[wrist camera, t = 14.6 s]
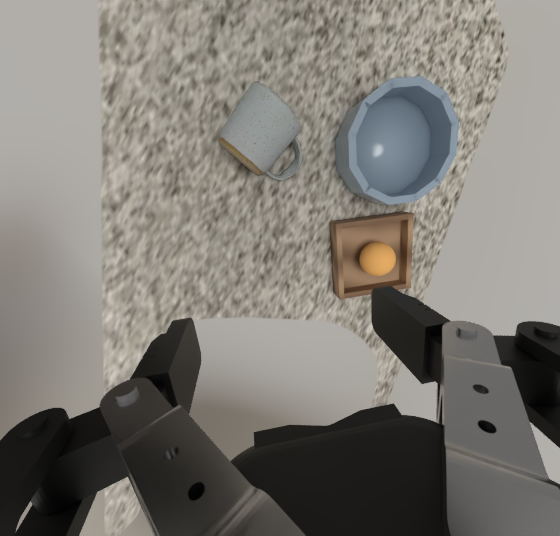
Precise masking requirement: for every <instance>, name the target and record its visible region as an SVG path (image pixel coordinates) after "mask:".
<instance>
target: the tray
mask: <svg viewBox="0 0 560 536" xmlns="http://www.w3.org/2000/svg"><path fill="white" fill-rule="evenodd" d="M413 216H414V213H408V212H395V213H388V214H380V215H373V216H366V217H358V218H351V219H344V220H336V221H330V238H331V256H332V274H333V292H334V293H335V294H336V296H337V297H338V298H339V299H344V298H350V297H356V296H362V295H368V294H372V290H373V289H374V288H379V287H385V286H392V287H393V288H395V289H396V290H399V289H405V288H411V265H412V240H413ZM373 242H383V243H386V244H387V245H389V246H390V247H391V248H392V249H393V250H394V252H395V255H396V262H395V265H394V267H393V269H392V270H391V271H390V272H389V273H387V274H385V275H382V276H373V275H370V274H368V273H366V272H365V271H364V270H363V269H362V267H361V265H360V260H359V258H360V254H361V251H362V250H363V248H364V247H365V246H367V245H368V244H370V243H373Z"/></svg>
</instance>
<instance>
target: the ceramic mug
mask: <svg viewBox="0 0 560 536" xmlns="http://www.w3.org/2000/svg"><path fill="white" fill-rule="evenodd" d="M300 130H301V125H300V122H299V120H298V118H297V117H296V115H295V114H294V113H293V111H292V110H291V109H290V108H289V106H288V105H287V104H286V103H285V102H284V101H283V100H282V99H281V98H280V97H279V96H278V95H277V94H275V93H274V92H273V91H272V90H271V89H270V88H269V87H267V86H266V85H264V84H262V83H260V82H253V83H252V84H251V86H250V87H249V89H248V91H247V92H246V94H245V95H244V97H243V98H242V100H241V101H240V103H239V104H238V106H237V107H236V109H235V111H234V112H233V114H232V115H231V117H230V118H229V120H228V121H227V123H226V124H225V126H224V128H223V130H222V132H221V134H220V137H219V142H220V144H221V145H222V146H223V147H224V148H225V149H226V150H227V151H229V152H230V153H231V154H232V155H233V156H234V157H236V158H237V159H238V160H239V161H240V162H242V163H243V164H244V165H245V166H246V167H247V168H249V169H250V170H251V171H252V172H254V173H255V174H256V175H262V174H263V173H266V174H267V175H269V176H270V177H272V178H274V179H277V180H284V179H288V178H289V177H291V176H292V175H293V174H294V173H295V172H296V171H297V170H298V169H299V167H300V165H301V162H302V150H301V146H300V144H299V141H298V140H297V138H296V136H297V135H298V133H299V132H300ZM292 141H293V144H294V146H295V149H296V158H295V160H294V162H293V163H292V165H291V166H290V167H289V168H288V169H287V170H285V171H283V173H282V174H281V175H274V174H272V173H270V172H269V171H268V169H269V168H270V167H271V166H272V165H273V163H274V162H275V161H276V160H277V158H278V157H279V156H280V154H281V153H282V152H283V151H284V150H285V149H286V148H287V146H288V145H289V144H290V143H291V142H292Z"/></svg>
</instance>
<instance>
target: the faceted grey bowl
mask: <svg viewBox="0 0 560 536" xmlns="http://www.w3.org/2000/svg"><path fill="white" fill-rule="evenodd" d="M458 127H459V120H458V118H457V116H456V113H455V111H454V108H453V106H452V104H451V101H450V99H449V96H448V94H447V92H446V91H444V90H442V89H441V88H439V87H438V86H436V85H435V84H433V83H432V82H430V81H429V80H427V79H426V78H424V77H423V76H415V77H403V78H392V79H389V80H388V81H387V82H385V83H384V84H382V85H381V86H380V87H378V88H377V89H375V90H374V91H373V92H371V93H370V94H369V95H367V96H366V97H365V98H364V99H362V100H361V101H360V102H359V103H357V104H356V105H355V106H353V107H352V108H351V109H350V110H348V112H347V114H346V116H345V119H344V121H343V123H342V125H341V128H340V130H339V132H338V135H337V137H336V139H335V145H336V167H337V171H338V173H339V174H340V176H341V177H342V179H343V181H344V182H345V184H346V186H347V187H348V189H349V191H350V192H351V193H353V194H355V195H358V196H360V197H362V198H364V199H366V200H368V201H370V202H372V203H378V204H386V205H392V204H400V203H407V202H415V201H417V200H419V199H420V198H421V197H423V196H424V195H425V194H427V193H428V192H429V191H431V190H432V189H434V188H435V187H436V186H438V185H439V184H440V183H441V181H442V180H443V178H444V176H445V174H446V172H447V171H448V169H449V167H450V165H451V163H452V161H453V160H454V158H455V156H456V151H457V139H458Z"/></svg>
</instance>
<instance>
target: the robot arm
mask: <svg viewBox="0 0 560 536" xmlns="http://www.w3.org/2000/svg"><path fill="white" fill-rule="evenodd" d="M371 296H372V325H373V328H374V330H375V332H376V334H377V335H378V336H379V337H380V338H381V339H382V340H383V341H384V342H385V344H386V345H387V346H388V347H389V348H390V349H391V350H392V351H393V352H394V354H395V355H396V356H397V357H398V358H399V359H400V360H401V361H402V362H403V364H404V365H405V366H406V367H407V368H408V369H409V370H410V371H411V372H412V374H413V375H414V376H415V377H416V378H417V379H418V380H419V381H420V382H421V384H424V383H429V382H434V381H436V382H437V383H438V385H437V408H436V422H434V421H431V420H428V419H424V418H420V417H416V416H408V415H401V413H400V412H399V411H398V409H397V408H396V406H395V405H394V404H389V405H384V406H379V407H374V408H370V409H365V410H360V411H358V412H356V413H354V414H352V415H350V416H348V417H346V418H344V419H342V420H340V421H338V422H336V423H334V424H331V425H328V426H310V425H309V426H308V425H306V426H305V425H287V426H283V427H277V428H272V429H268V430H263V431H258V432H254V446H252V447H250V448H249V449H247V450H245V451H243V452H242V453H240V454H239V455H237V456H236V457H235V458H234V459H232V460H231V461H230V460H229V459H228V458H227V457H226V456H225V455H224V454H223V452H222V451H221V450H220V449H219V448H218V447H217V446H216V445H215V444H214V442H213V441H212V440H211V439H210V438H209V437H208V436H207V434H206V433H205V432H204V431H203V430H202V429H201V428H200V426H199V425H198V424H197V423H196V422H195V421H194V420H193V419H192V417H191V416H190V415H189V412H190V408H191V404H192V400H193V395H194V391H195V387H196V382H197V378H198V374H199V369H200V365H201V352H200V347H199V343H198V339H197V334H196V330H195V326H194V322H193V320H192V318H186V319H180V320H174V321H172V323H171V325H170V327H169V328H168V330H167V332H166V333H165V334H160V335H159V336H158V337H157V338H156V339H155V340H153V341H152V342H151V344H150V346H149V347H148V349H147V352H145V354H144V356H143V359H141V361H140V363H139V365H138V366H137V368H136V370H135V372H134V373H133V375H132V377H131V378H130V380H127V381H124V382H122V383H120V384H119V385H117V386H115V387H114V388H112V389H111V390H110V391H109V392H107V393H106V394H105V396H104V397H103V398H102V400H101V402H100V407H99V408H96V409H94V410H92V411H89V412H87V413H84V414H81V415H79V416H76V417H74V418H71V419H69V417H68V415H67V413H66V411H65V410H64V409H62V408H52V409H48V410H44V411H41V412H39V413H37V414H34V415H32V416H30V417H28V418H27V419H25V420H24V421H22V422H20V423H19V424H17V425H16V426H15V427H14V428H12V429H11V430H10V431H9V432H8V433H7V434H6V435H5V436H4V437H3V438H2V439H1V440H0V536H79V534H80V532H81V530H82V527H83V525H84V522H85V520H86V517H87V515H88V513H89V510H90V508H91V505H92V503H93V501H94V499H95V496H96V494H97V492H98V491H100V490H102V489H104V488H106V487H108V486H110V485H112V484H114V483H116V482H118V481H120V480H122V479H124V478H126V477H128V478H129V481H130V483H131V485H132V487H133V490H134V492H135V494H136V496H137V499H138V501H139V503H140V505H141V508H142V510H143V512H144V514H145V516H146V519H147V521H148V523H149V525H150V528H151V530H152V532H153V535H154V536H560V484H558V483H555V482H554V481H552V480H550V479H549V477H548V475H547V473H546V470H545V467H544V464H543V461H542V458H541V455H540V452H539V449H538V446H537V443H536V440H535V437H534V434H533V431H532V428H531V425H530V422H531V423H532V424H533V425H534V426H535V427H537V428H538V429H539V430H540V431H541V432H542V433H543V434H544V435H546V436H547V437H548V438H549V439H550V440H551V441H552V442H554V443H555V444H556V445H557V446H558V447H559V448H560V326H556V325H553V324H549V323H544V322H535V321H534V322H532V321H531V322H530V321H528V322H522V323H520V324H518V325H517V330H516V335H515V336H493V335H492V333H491V332H490V331H489V330H488V329H486V328H485V327H483V326H481V325H478V324H475V323H471V322H466V321H450V320H448V319H446V318H445V317H444V316H442V315H441V314H439V313H437V312H436V311H434V310H433V309H431V308H430V307H428V306H427V305H424V303H422V302H421V301H419V300H418V299H416V298H414V297H411V296H408V295H405V294H402V293H401V292H399V291H398V290H396V289H395V288H393V287H392V286H385V287H379V288H374V289H373V290H372V295H371ZM529 421H530V422H529ZM30 501H31V502H32V504H33V505H32V507H31V508H30V510H29V512H28V513H27V515H26V517H25V518H24V520H23V521H22V523H21V525H20V526H19V528H18V530H17V531H16V527H17V524H18V522H19V519H20V517H21V515H22V514H23V512H24V510H25V509H26V507H27V505H28V504H29V502H30ZM15 532H16V533H15Z"/></svg>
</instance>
